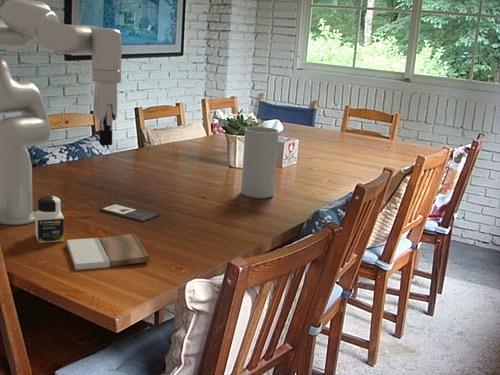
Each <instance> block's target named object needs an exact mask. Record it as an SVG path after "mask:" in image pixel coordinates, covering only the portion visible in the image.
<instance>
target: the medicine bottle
mask: <svg viewBox="0 0 500 375" xmlns="http://www.w3.org/2000/svg"><path fill="white" fill-rule="evenodd" d="M34 212H35V221H34V224H35V226H34V227H35V228H34V229H35V233H34V234H35V237H36V240H37V243H40V244H42V243H54V242H64V241H65V217H64V215H63V213H62V211H61V199H60V198H59V197H57V196H54V195H47V196H43V197H40V198H39V199H38V200H37V211H34Z"/></svg>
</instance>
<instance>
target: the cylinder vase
mask: <svg viewBox="0 0 500 375" xmlns="http://www.w3.org/2000/svg"><path fill="white" fill-rule="evenodd" d="M279 132H280V131H279V129H276V128H273V127H268V126H267V127H266V126H265V127H264V126H248V127H247V126H246V127H245V128H244V139H243V141H244V142H243V156H242V169H241V183H240V193H241V195H243V196H244V197H247V198H251V199H260V200H261V199H268V198H271V197H273V196H274V193H275V192H274V191H275V182H276V169H277V159H278V158H277V156H278V147H279V146H278V143H279Z"/></svg>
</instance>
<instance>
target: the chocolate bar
mask: <svg viewBox="0 0 500 375" xmlns="http://www.w3.org/2000/svg"><path fill="white" fill-rule="evenodd" d="M99 212H103V213H105V212H106V214H109V213H110V215H112V216H118V217H121V218H124V217H125V218H124V219H128V218H129V219H128V220H132V221H136V220H137V222H139V221H140V222H139V223H145V221H146V222H147V221H150V219H151V220H153V218H154V219H156V218H158V216H159V217H161V214H160V213H157V212H152V211H148V210H145V209H140V208H137V207H133V206H129V205H125V204H122V203H121V204H120V203H116V204H115V203H114V204H112V205H110V206H109V205H108V206H105V207H103V208H100V209H99ZM155 217H156V218H155Z"/></svg>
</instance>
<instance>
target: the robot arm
mask: <svg viewBox="0 0 500 375" xmlns="http://www.w3.org/2000/svg"><path fill="white" fill-rule="evenodd" d="M0 17H1V19H0V50H20V49H24V48H25V47H27V46H29V45H30V44H32V43H33V42H34V41H35V40H36V39H37V40H38V42H39V43H40V44H41V46H43V47H45V48H47V49H49V50H52V51H54V52H57V53H61V54H64V55H69V56H70V55H71V56H72V55H91V82H94V87H93V88H94V89H93V110H92V115H93V116H94V118H96V120H98V121H99V130H98V132H99V134H98V135H99V136H98V137H99V138H98V141H99V145H100V146H112V145H113V121H115V120H117V119H118V118H117V117H118V84H121V83H122V47H123V46H122V44H123V43H122V41H123V36H122V32H121V31H120V29H117V28H112V27H110V28H109V27H100V26H96V25H89V24H87V25H86V24H66V23H62V22H60V20H59V17H58V15H57V13H55V12H54V11H53V10H51V9H50V6H48V5H47V4H46V3H44V2H42V1H39V0H8V1H6V2H5V3H4V4H3V5H2V6H1V8H0ZM16 113H20V114H21V115H16V116H8V117H5V118H2V119H0V224H2V225H9V226H10V225H11V226H16V225H17V226H18V225H26V224H31V223H33V222H34V223H35V212H36V211H34V209H33V208H34V207H33V168H32V166H33V165H32V164H33V163H32V160H31V157H30V155H29V154H28V153H27V151H26V150H27V149H26V148H30V147H35V146H40V145H43V144H46V143H48V141H50V139H51V135H52V127H51V122H50V119H49V116H48V113H47V110H46V106H45V104H44V101H43V97H42V95H41V92H40V90H39V88H38V87H37V86H36V85H35V84H34V83H33V82H31V81H29V80H23V79H22V80H14V78H13V77H12V73H11V70H10V68H9V66H8V64H7V62H6V60H5V59H4V58H3V57H2V56H1V55H0V115H4V114H5V115H6V114H7V115H8V114H16Z"/></svg>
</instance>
